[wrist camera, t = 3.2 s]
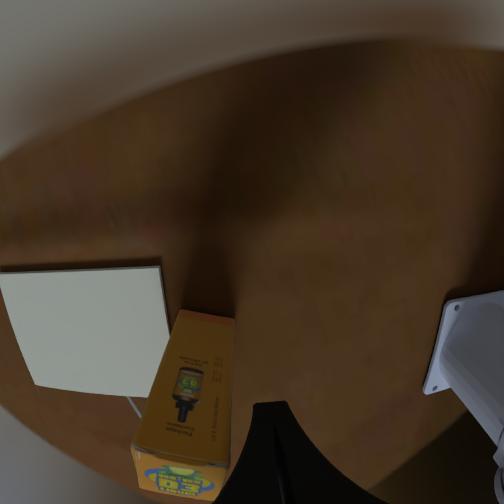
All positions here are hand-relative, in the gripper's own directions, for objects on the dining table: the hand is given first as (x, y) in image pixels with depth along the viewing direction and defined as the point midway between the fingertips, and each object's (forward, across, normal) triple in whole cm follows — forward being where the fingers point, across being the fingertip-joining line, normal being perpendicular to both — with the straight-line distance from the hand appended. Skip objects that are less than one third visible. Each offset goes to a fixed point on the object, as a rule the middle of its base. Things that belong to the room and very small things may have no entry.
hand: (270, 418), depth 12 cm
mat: (+7, +11, 0) cm, 13 cm away
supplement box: (+7, +3, 0) cm, 8 cm away
